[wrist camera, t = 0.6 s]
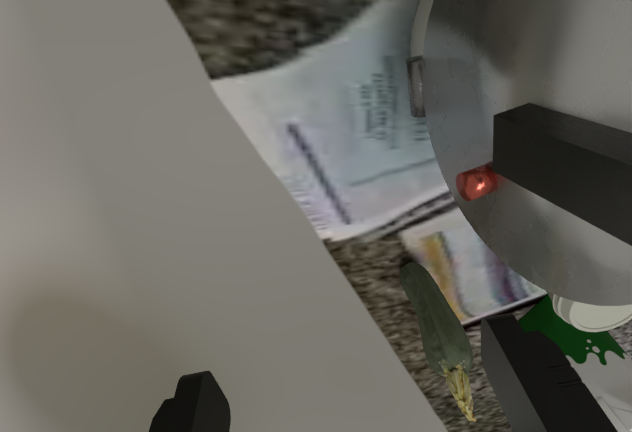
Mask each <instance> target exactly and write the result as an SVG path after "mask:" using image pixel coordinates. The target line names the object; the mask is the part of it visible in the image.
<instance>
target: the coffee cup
mask: <svg viewBox="0 0 632 432" xmlns="http://www.w3.org/2000/svg"><path fill="white" fill-rule="evenodd" d="M546 292H547V293H548V295H549V297H550V298H551V300H552V302H553V308H554V311H555V312H556V314H557V315H558V316H559V317H561V318H562V319H563V320H564V321H565V322H567V323H569V324H571V325H573V326H574V327H576V328H577V329H579V330H582V331H586V332H601V331H606V330H610V329H613V328H615V327H618V326H620V325H622V324H624V323H626V322H628V321H629V320H631V319H632V304H630V305H623V306H597V305H591V304H585V303H579V302H575V301H572V300H569V299H566V298H563V297H559V296H557V295H555V294H553V293H551V292H548V291H546Z"/></svg>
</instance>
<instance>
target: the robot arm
mask: <svg viewBox="0 0 632 432" xmlns="http://www.w3.org/2000/svg"><path fill="white" fill-rule="evenodd" d="M481 357H482V362H483V366H484V369H485V372H486V375H487V377H488V379H489V381H490V383H491V385H492V388H493V390H494V392H495V394H496V396H497V398H498V400H499V402H500V405H501V407H502V409H503V411H504V413H505V415H506V417H507V419H508V421H509V424H510V426H511V428H512V430H513V432H618V431H617V430H616V428H615V427H614V425H613V424H612V422H611V421H610V419H609V418H608V417H607V415H606V414H605V412H604V411H603V409H602V408H601V406H600V405H599V404H598V402H597V401H596V399H595V398H594V396H593V395H592V393H591V392H590V391H589V389H588V388H587V386H586V385H585V383H583V382H582V380H581V378H580V376H579V375H578V373H577V372H576V370H575V369H574V368H573V367H572V366H571V363H570V362H569V360H568V359H567V357H566V356H565V355H564V353H563V352H562V350H561V349H560V347H559V346H558V344H556V343H555V342H554V341H552V340H551V339H550V338H548V337H547V336H546V335H544V334H543V333H542V332H540V331H539V330H535V331H529V332H524V331H523V329H522V327H521V326H520V324H519V323H518V321H517V319H516V318H515V317H514V315H512V314H511V313H508V314H503V315H498V316H493V317H488V318H483V319H482V320H481ZM230 419H231V418H230V408H229V403H228V401H227V399H226V397H225V395H224V394H223V392H222V390H221V388H220V387H219V385H218V384H217V382H216V380H215V378H214V377H213V375H212V374H211V372H210V371H204V372H199V373H194V374H189V375H183V376H182V377H181V378H180V379H179V382H178V385H177V388H176V392H175V396H174V398H171V399H166V400H165V401H164V402H163V404H162V405H161V407H160V408H159V410H158V411H157V413H156V414H155V416H154V418H153V420H152V423H151V426H150V430H149V432H229V429H230Z"/></svg>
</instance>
